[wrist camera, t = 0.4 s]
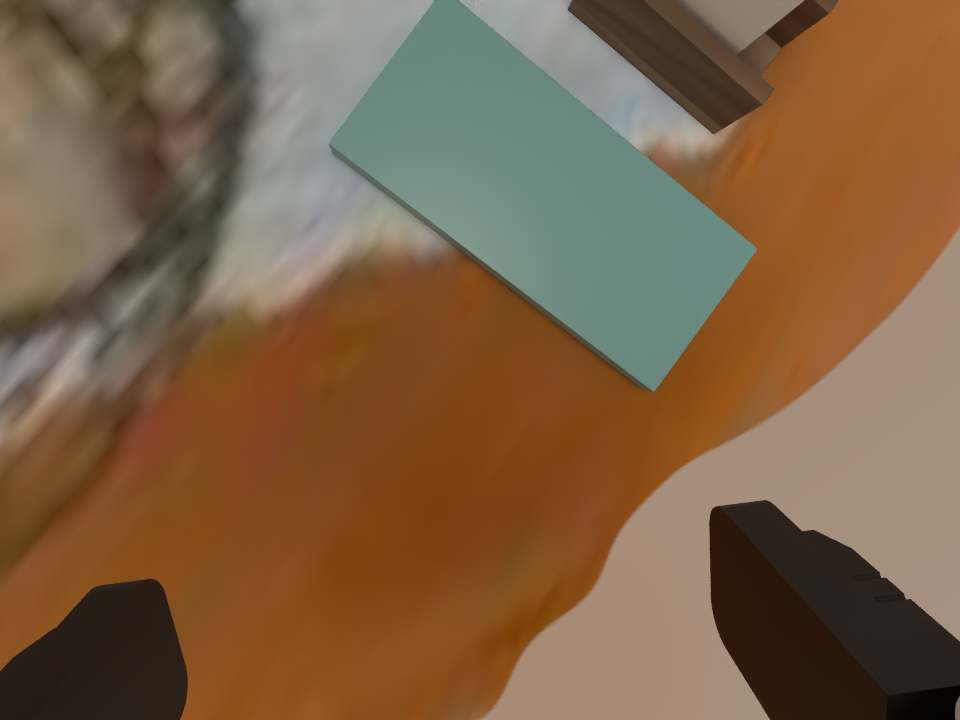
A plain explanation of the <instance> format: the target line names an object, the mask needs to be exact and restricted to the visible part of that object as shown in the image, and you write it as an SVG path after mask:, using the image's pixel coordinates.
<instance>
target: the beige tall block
mask: <svg viewBox="0 0 960 720" xmlns="http://www.w3.org/2000/svg"><path fill="white" fill-rule="evenodd" d="M674 1H675V2H676V3H677V4H679V5H680V6H681V7H682V8H683V9H684V10H685V11H686V12H688V13H689V14H690V15H691V16H692V17H693V18H694V19H696V20H697V21H698V22H699V23H700V24H701V25H702V26H703V27H705V28H706V29H707V30H708V31H709V32H710V33H711V34H713V35H714V36H715V37H716V38H717V39H718V40H719V41H720V42H722V43H723V44H724V45H725V46H726V47H727V48H728V49H730V50H731V51H732V52H733V53H734V54H735V55H737V54H738V53H739V52H741V51H742V50H743V49H744V48H746V47H747V46H748V45H749V44H751V43H752V42H753V41H754V40H756V39H757V38H758V37H759V36H761V35H762V34H763V33H764V32H766V31H767V30H768V29H769V28H771V27H772V26H773V25H774V24H776V23H777V22H778V21H779V20H781V19H782V18H783V17H784V16H786V15H787V14H788V13H789V12H791V11H792V10H793V9H794V8H796V7H797V6H798V5H799V4H801V3H802V2H803V1H804V0H674Z"/></svg>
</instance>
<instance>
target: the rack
mask: <svg viewBox="0 0 960 720" xmlns="http://www.w3.org/2000/svg"><path fill="white" fill-rule="evenodd" d="M837 2H838V0H804V1H803V2H802V3H801V4H799V5H798V6H797V7H796V8H794V9H793V10H792V11H791V12H789V13H788V14H787V15H786V16H784V17H783V18H782V19H781V20H779V21H778V22H777V23H776V24H774V25H773V26H772V27H771V28H769V29H768V30H767V31H766V32H764V33H763V34H762V35H761V36H759V37H758V38H757V39H756V40H754V41H753V42H752V43H751V44H749V45H748V46H747V47H746V48H744V49H743V50H742V51H741V52H739V53H738V54H737V55H735V54H734V53H733V52H732V51H731V50H730V49H728V48H727V47H726V46H725V45H724V44H723V43H722V42H720V41H719V40H718V39H717V38H716V37H715V36H714V35H713V34H711V33H710V32H709V31H708V30H707V29H706V28H705V27H703V26H702V25H701V24H700V23H699V22H698V21H697V20H696V19H694V18H693V17H692V16H691V15H690V14H689V13H688V12H686V11H685V10H684V9H683V8H682V7H681V6H680V5H679V4H677V3H676V2H675V1H674V0H572V2H571V4H570V6H569V8H568V10H569V11H570V12H571V13H573V14H574V15H575V16H576V17H577V18H578V19H580V20H581V21H582V22H583V23H584V24H585V25H587V26H588V27H589V28H590V29H591V30H592V31H594V32H595V33H596V34H597V35H598V36H599V37H601V38H602V39H603V40H604V41H605V42H607V43H608V44H609V45H610V46H611V47H612V48H614V49H615V50H616V51H617V52H618V53H619V54H621V55H622V56H623V57H624V58H625V59H626V60H628V61H629V62H630V63H631V64H632V65H633V66H635V67H636V68H637V69H638V70H639V71H641V72H642V73H643V74H644V75H645V76H646V77H648V78H649V79H650V80H651V81H652V82H653V83H655V84H656V85H657V86H658V87H659V88H660V89H662V90H663V91H664V92H665V93H666V94H667V95H669V96H670V97H671V98H672V99H673V100H675V101H676V102H677V103H678V104H679V105H680V106H682V107H683V108H684V109H685V110H686V111H687V112H689V113H690V114H691V115H692V116H693V117H694V118H696V119H697V120H698V121H699V122H700V123H701V124H703V125H704V126H705V127H706V128H707V129H709V130H710V131H711V132H712V133H713V134H715V133H716V132H718V131H720V130H721V129H723V128H725V127H726V126H728V125H730V124H731V123H733V122H735V121H736V120H738V119H740V118H741V117H743V116H745V115H746V114H748V113H750V112H751V111H753V110H755V109H756V108H758V107H759V106H761V105H763V103H764V102H765V101H766V99H767V98H768V97H769V95H770V94H771V92H772V91H773V90H774V88H773V87H772V86H770V85H769V84H768V83H767V82H766V81H765V80H764V79H762V78H761V75H762V74H763V73H764V71H765V70H766V68H767V67H768V66H769V64H770V63H771V62H772V60H773V59H774V57H775V56H776V55H777V53H778V52H779V51H780V49H781V48H782V47H783V46H785V45H786V44H788V43H789V42H790V41H792V40H793V39H794V38H796V37H797V36H799V35H800V34H801V33H803V32H804V31H806V30H807V29H808V28H810V27H811V26H812V25H814V24H815V23H817V22H818V21H819V20H821V19H822V18H823V17H825V16H826V15H828V14H829V13H830V12H831V10H832V9H833V7H834V6H835V5H836V3H837Z"/></svg>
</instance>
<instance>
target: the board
mask: <svg viewBox="0 0 960 720" xmlns="http://www.w3.org/2000/svg"><path fill="white" fill-rule="evenodd" d="M329 145H330V148H331V150H332V152H333V154H334V155H335V156H337V157H338V158H339V159H341V160H342V161H343V162H345V163H346V164H347V165H349V166H350V167H351V168H353V169H354V170H355V171H356V172H358V173H359V174H360V175H362V176H363V177H364V178H366V179H367V180H368V181H370V182H371V183H372V184H373V185H375V186H376V187H377V188H379V189H380V190H381V191H383V192H384V193H385V194H387V195H388V196H389V197H391V198H392V199H393V200H394V201H396V202H397V203H398V204H400V205H401V206H402V207H404V208H405V209H406V210H408V211H409V212H410V213H412V214H413V215H414V216H415V217H417V218H418V219H419V220H421V221H422V222H423V223H425V224H426V225H427V226H429V227H430V228H431V229H433V230H434V231H435V232H436V233H438V234H439V235H440V236H442V237H443V238H444V239H446V240H447V241H448V242H450V243H451V244H452V245H453V246H455V247H456V248H457V249H459V250H460V251H461V252H463V253H464V254H465V255H467V256H468V257H469V258H471V259H472V260H473V261H474V262H476V263H477V264H478V265H480V266H481V267H482V268H484V269H485V270H486V271H488V272H489V273H490V274H492V275H493V276H494V277H495V278H497V279H498V280H499V281H501V282H502V283H503V284H505V285H506V286H507V287H509V288H510V289H511V290H512V291H514V292H515V293H516V294H518V295H519V296H520V297H522V298H523V299H524V300H526V301H527V302H528V303H530V304H531V305H532V306H533V307H535V308H536V309H537V310H539V311H540V312H541V313H543V314H544V315H545V316H547V317H548V318H549V319H551V320H552V321H553V322H554V323H556V324H557V325H558V326H560V327H561V328H562V329H564V330H565V331H566V332H568V333H569V334H570V335H572V336H573V337H574V338H575V339H577V340H578V341H579V342H581V343H582V344H583V345H585V346H586V347H587V348H589V349H590V350H591V351H592V352H594V353H595V354H596V355H598V356H599V357H600V358H602V359H603V360H604V361H606V362H607V363H608V364H610V365H611V366H612V367H613V368H615V369H616V370H617V371H619V372H620V373H621V374H623V375H624V376H625V377H627V378H628V379H629V380H631V381H632V382H633V383H634V384H636V385H637V386H638V387H640V388H642V389H645V390H649V391H652V392H654V391H655V390H656V389H657V387H658V386H659V384H660V383H661V382H662V380H663V379H664V378H665V376H666V375H667V373H668V372H669V371H670V369H671V368H672V367H673V365H674V364H675V362H676V361H677V360H678V358H679V357H680V356H681V354H682V353H683V351H684V350H685V349H686V347H687V346H688V344H689V343H690V342H691V340H692V339H693V338H694V336H695V335H696V333H697V332H698V331H699V329H700V328H701V327H702V325H703V324H704V322H705V321H706V320H707V318H708V317H709V315H710V314H711V313H712V311H713V310H714V309H715V307H716V306H717V304H718V303H719V302H720V300H721V299H722V298H723V296H724V295H725V293H726V292H727V291H728V289H729V288H730V287H731V285H732V284H733V282H734V281H735V280H736V278H737V277H738V275H739V274H740V273H741V271H742V270H743V269H744V267H745V266H746V264H747V263H748V262H749V260H750V259H751V258H752V256H753V255H754V253H755V252H756V251H757V248H756V247H755V246H753V245H752V244H751V243H750V242H748V241H747V240H746V239H745V238H744V237H742V236H741V235H740V234H739V233H738V232H736V231H735V230H734V229H733V228H732V227H730V226H729V225H728V224H727V223H726V222H724V221H723V220H722V219H721V218H720V217H718V216H717V215H716V214H715V213H714V212H712V211H711V210H710V209H709V208H708V207H706V206H705V205H704V204H703V203H702V202H700V201H699V200H698V199H697V198H695V197H694V196H693V195H692V194H691V193H689V192H688V191H687V190H686V189H685V188H683V187H682V186H681V185H680V184H679V183H677V182H676V181H675V180H674V179H673V178H671V177H670V176H669V175H668V174H667V173H665V172H664V171H663V170H662V169H661V168H659V167H658V166H657V165H656V164H655V163H653V162H652V161H651V160H650V159H648V158H647V157H646V156H645V155H644V154H642V153H641V152H640V151H639V150H638V149H636V148H635V147H634V146H633V145H632V144H630V143H629V142H628V141H627V140H626V139H624V138H623V137H622V136H621V135H620V134H618V133H617V132H616V131H615V130H614V129H612V128H611V127H610V126H609V125H608V124H606V123H605V122H604V121H603V120H602V119H600V118H599V117H598V116H597V115H595V114H594V113H593V112H592V111H591V110H589V109H588V108H587V107H586V106H585V105H583V104H582V103H581V102H580V101H579V100H577V99H576V98H575V97H574V96H573V95H571V94H570V93H569V92H568V91H567V90H565V89H564V88H563V87H562V86H561V85H559V84H558V83H557V82H556V81H555V80H553V79H552V78H551V77H550V76H549V75H547V74H546V73H545V72H544V71H542V70H541V69H540V68H539V67H538V66H536V65H535V64H534V63H533V62H532V61H530V60H529V59H528V58H527V57H526V56H524V55H523V54H522V53H521V52H520V51H518V50H517V49H516V48H515V47H514V46H512V45H511V44H510V43H509V42H508V41H506V40H505V39H504V38H503V37H502V36H500V35H499V34H498V33H497V32H495V31H494V30H493V29H492V28H491V27H489V26H488V25H487V24H486V23H485V22H483V21H482V20H481V19H480V18H479V17H477V16H476V15H475V14H474V13H473V12H471V11H470V10H469V9H468V8H467V7H465V6H464V5H463V4H462V3H461V2H459V1H458V0H435V1H434V3H433V4H432V5H431V7H430V8H429V9H428V11H427V12H426V13H425V15H424V16H423V17H422V19H421V20H420V21H419V23H418V24H417V25H416V27H415V28H414V29H413V31H412V32H411V33H410V35H409V36H408V37H407V39H406V40H405V42H404V43H403V44H402V46H401V47H400V48H399V50H398V51H397V52H396V54H395V55H394V56H393V58H392V59H391V60H390V62H389V63H388V64H387V66H386V67H385V68H384V70H383V71H382V72H381V74H380V75H379V76H378V78H377V79H376V80H375V82H374V83H373V84H372V86H371V87H370V88H369V90H368V91H367V93H366V94H365V95H364V97H363V98H362V99H361V101H360V102H359V103H358V105H357V106H356V107H355V109H354V110H353V111H352V113H351V114H350V115H349V117H348V118H347V119H346V121H345V122H344V123H343V125H342V126H341V127H340V129H339V130H338V131H337V133H336V134H335V135H334V137H333V138H332V139H331V141H330V142H329Z"/></svg>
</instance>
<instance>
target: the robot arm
mask: <svg viewBox="0 0 960 720" xmlns="http://www.w3.org/2000/svg"><path fill="white" fill-rule="evenodd" d="M709 527H710V573H711V603H712V610H713V615H714V620H715V623H716V627H717V630H718V633H719V635H720V638H721V640H722V642H723V644H724V646H725V647H726V649H727V651H728V652H729V654H730V656H731V657H732V659H733V660H734V662H735V664H736V665H737V667H738V669H739V670H740V672H741V673H742V675H743V677H744V678H745V680H746V681H747V683H748V684H749V686H750V688H751V689H752V691H753V692H754V694H755V696H756V698H757V699H758V701H759V702H760V704H761V705H762V707H763V709H764V710H765V712H766V714H767V715H768V717H769V718H770V720H960V641H958V640H957V639H956V638H955V637H954V636H953V635H952V634H950V633H949V632H948V631H947V630H946V629H945V628H943V627H942V626H941V625H940V624H939V623H938V622H936V621H935V620H934V619H933V618H932V617H931V616H929V615H928V614H927V613H926V612H925V611H924V610H923V609H921V608H920V607H919V606H918V605H917V604H915V603H914V602H913V601H912V600H911V599H908V600H906V598H905V596H904V593H903V592H902V591H900V590H899V589H898V588H897V587H896V586H895V585H894V584H892V583H891V582H890V581H889V580H888V579H887V578H881V576H880V572H878V571H877V570H876V569H875V568H874V567H873V566H871V565H870V564H869V563H868V562H867V561H866V560H865V559H863V558H862V557H861V556H860V555H859V554H858V553H856V552H855V551H854V550H853V549H852V548H850V547H848V546H845V545H844V544H841V543H840V542H838V541H836V540H833V539H831V538H829V537H827V536H825V535H823V534H821V533H819V532H817V531H815V530H809V531H801V530H800V529H799V528H798V527H797V526H796V525H795V524H794V523H793V522H792V521H791V520H790V519H789V518H787V517H786V516H785V515H784V514H783V513H782V512H781V511H780V510H779V509H778V508H777V507H776V506H775V505H774V504H772V503H771V502H769V501H767V500H763V501H755V502H748V503H739V504H732V505H724V506H716V507H714V508H713V509H712V511H711V515H710V523H709ZM187 688H188V678H187V670H186V665H185V662H184V658H183V655H182V651H181V648H180V644H179V640H178V637H177V633H176V630H175V626H174V623H173V619H172V616H171V612H170V609H169V605H168V601H167V598H166V595H165V592H164V589H163V587H162V586H161V584H160V583H159V582H158V581H157V580H154V579H146V580H138V581H131V582H123V583H115V584H107V585H100V586H97V587H95V588H93V589H92V590H90V591H89V592H88V593H87V594H86V596H85V597H84V598H83V599H82V600H81V601H80V602H79V603H78V604H77V605H76V607H75V608H74V609H73V610H72V611H71V612H70V613H69V614H68V615H67V616H66V617H65V619H64V620H63V621H62V622H61V623H60V624H59V625H58V626H57V627H56V628H54V629H53V630H51V631H50V632H48V633H47V634H46V635H44V636H43V637H41V638H40V639H39V640H37V641H36V642H34V643H33V644H32V645H30V646H29V647H27V648H26V649H25V650H23V651H22V652H20V653H19V654H17V655H16V656H15V657H13V658H12V659H11V660H10V662H9V663H8V664H7V665H6V666H5V667H4V668H3V669H2V670H1V671H0V720H180V718H181V716H182V713H183V710H184V707H185V703H186V697H187Z"/></svg>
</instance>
